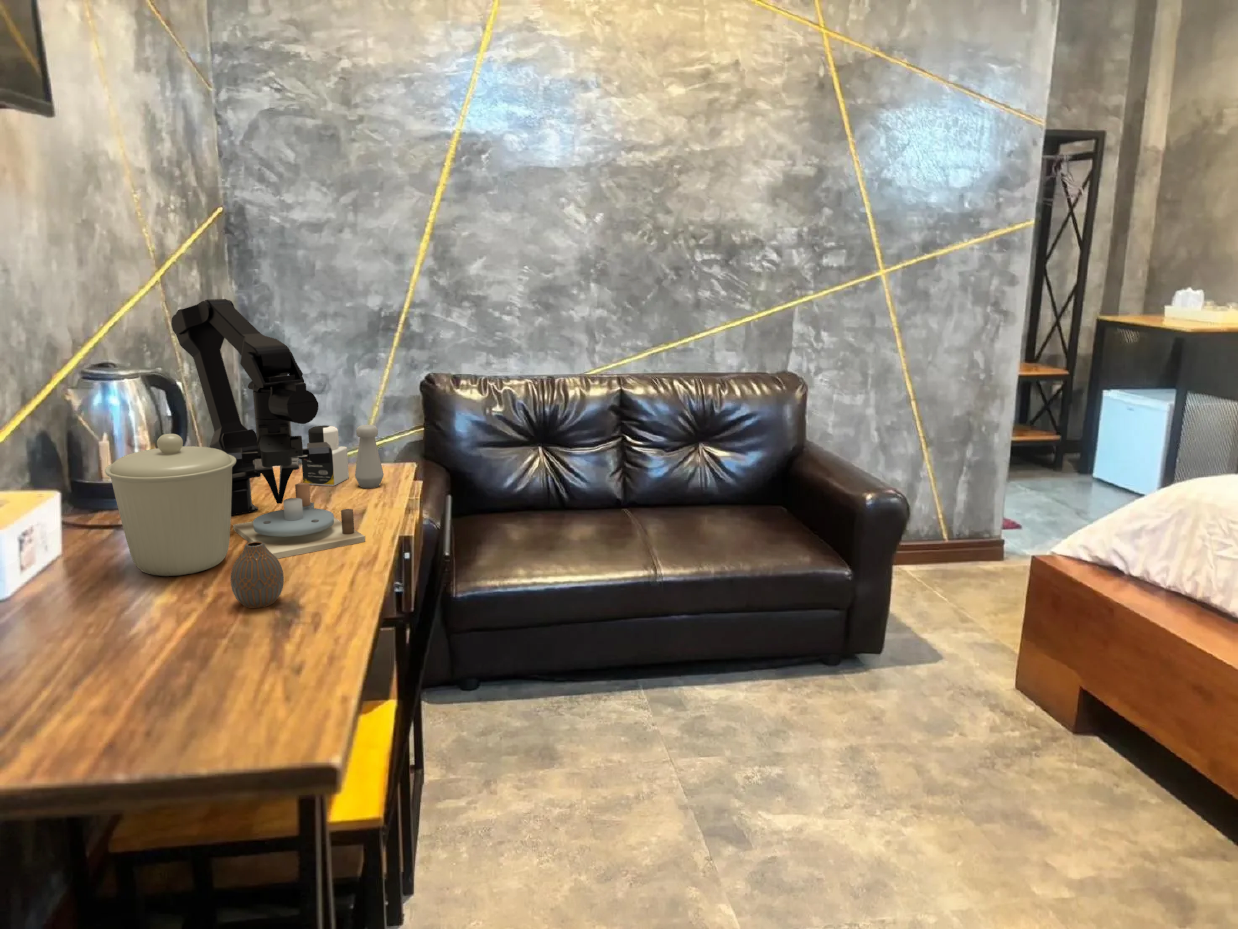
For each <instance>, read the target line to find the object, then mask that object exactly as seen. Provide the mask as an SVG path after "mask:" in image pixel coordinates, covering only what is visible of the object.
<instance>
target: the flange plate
mask: <svg viewBox="0 0 1238 929" xmlns="http://www.w3.org/2000/svg"><path fill="white" fill-rule="evenodd" d="M294 488H295V497H289V498H286V499H284V500H283V501H282V504H283V509H279V510H273V511H270V512H266V513H263V514H261V515H258V516H257V517H255V518H254V520H253V526H254V531H255V532H257V533H259V534H262V535H267V536H279V537H286V536H299V535H306V534H312V533H316V532H320V531H323V530H325V529H328V528H329V527H331V526H332V525H333V524H334V517H335V516H334V513H333V512H332V511H329V510H327V509H324V508H323V509H322V508H317V507H315V503H314V502H312V501H311V492H310V491H311V490H310V485H309V483H303V482H298V483H296V484H294Z"/></svg>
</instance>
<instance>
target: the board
mask: <svg viewBox="0 0 1238 929" xmlns="http://www.w3.org/2000/svg"><path fill="white" fill-rule="evenodd" d="M340 515H341V516H340V518H341V520H339V519H338V518H337V517H335V516H334V524H333V525H332V526H331V527H329V528H328V529H325V530H323V531H320V532H316V533H312V534H306V535H299V536H286V537H279V536H267V535H262V534H259V533H257V532H255V531H254V526H253V521H254V520H253V521H246V522H241V523H234V524H233V525H232V526H233V531H234V532H235V533H236V534H238V535H239V536H240V537H241V538H242V539H243V540H245V541H246V542H247V543H249V542H253V541H261V542H263V543H264V544H265V546H266V548H267V549H268V550H269V551H270V552H271V553H272V554H273V555H274V556H275V557H276V558H277V559H278V560H279V559H281V558H289V557H293V556H298V555H303V554H308V553H313V552H319V551H323V550H324V551H325V550H328V549H335V548H338V547H339V548H340V547H345V546H350V545H354V544H361V543H365V542H366V535H364V534H362V533H360V532H359V531H357V530H355V523H354V522H355V520H354V517H355V516H354V509H352V508H343V509H341V510H340Z"/></svg>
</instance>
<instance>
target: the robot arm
mask: <svg viewBox="0 0 1238 929" xmlns="http://www.w3.org/2000/svg"><path fill="white" fill-rule="evenodd" d="M171 328H172V331H173V334H175V336H176V338H177V342H178V343H179V346H180V347H181V348H182V349H183V350H184V351H185V352H186V353H188V354H189V355H190V356H191V357H192V358H193V361H194V365H195V368H196V372H197V376H198V379H199V381H200V386H201V390H202V393H203V395H204V400H205V403H206V406H207V410H208V414H209V417H210V420H211V424H212V427H213V428H212V429H213V431H214V432H213V435H212V438H211V440H210V442H209V443H210V444H209V448H215V449H219V450H222V451H224V452H225V453H227V454H229V455H232V456H234V457H235V458H236V464H235V465H234V466H233V467H232V496H231V516H235V515H239V514H240V515H241V514H246V513H247V514H248V513H252V512H258V511H259V507H257V506H256V505H255V504H253V502H252V501H253V500H252V488H251V479H253V478H260V477H261V476H263V477H264V479H265V481H266V482H267V484H268V486H269V488H270V491H271V493H272V495H273V498H274V500H275V502H276V504H277V505H278V504H283V501H284V500H283V499H284V497H285V492H286V489H287V485H288V483H289V479H290V477H291V475H292V473H293V471H296V470H299V469H300V466H299V462H300V460H302V459H310V461H312V462H313V463H314V464H322V463H331V462H333V457H332V449H331V446H330V445H329V444H328V443H327V442H320V443H309V442H308V443H306V448H305V447H304V448H303V437H302V435H292V426H291V424H292V423H295V424H300V425H304V424H308V423H310V422H312V421H314V419H315V418H316V417H317V414H318V411H319V402H318V400H317V398H316V396H315V395H314V393H312V391H309V390H307V383H306V382H305V379H304V377H303V374H304V372H303V371H302V370H301V368H300V366H299V365H298V363H297V361H296V358H295V357H294V355H293V353H292V351H291V349H290V348H289V346H287V344H285V343H284V342H283V341H280V340H278V339H277V338H274V337H270V336H267V335H264V334H262V333H261V332H260V331H259V330H258V329H257V328H256V327H255V326H254V325H252V323H250V321H249V320H247V319H246V318H245V317H244V316H243V314H241V313H240V311H238V310H237V309H236V308H235V305H234V302H233V301H232V300H230V299H227V298H213V299H205V300H202V301H200V302H199V303H197V304H195V305H191V306H189V307H185V308H180V309H178V310H177V312H175V314H173V316H172V317H171ZM225 340H226V341H227V342H228V343H229V344H230V345H231V346H232V347H233V348H234V350H236V351H237V352H238V353H239V355H240V360H239V361H240V362H239V364H240V366H241V367H242V369H243V370H244V372H245V373H246V374H247V376H248V377H249V378H250V380H251V381H250V382H249V383H248V384H247V388H248V390H252V394H253V396H252V397H253V405H254V406H253V407H254V418H255V430H254V429H252V428H250V429H248V428H247V427H246V426H245V425H243V424H242V421H241V416H240V414H239V411H238V407H237V403H236V400H235V397H234V394H233V393H234V392H233V390H232V387H231V383H230V380H229V376H228V372H227V369H226V365H225V363H224V359H223V355H222V351H221V349H222V346H223V343H224V341H225ZM278 466H279V481H278V484H279V485H278V484H277V481H276V476H275V471H274V468H273V467H278ZM261 474H262V475H261Z"/></svg>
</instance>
